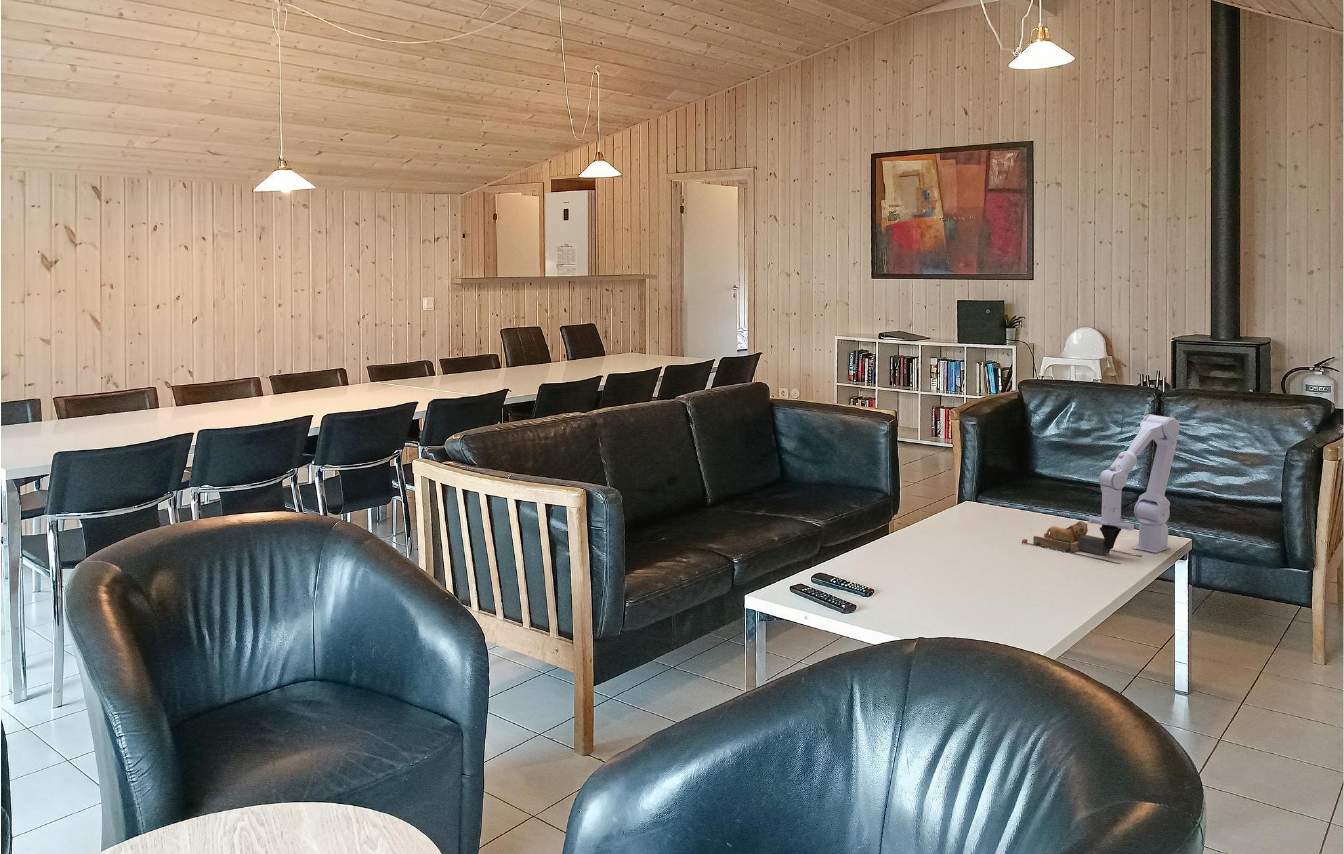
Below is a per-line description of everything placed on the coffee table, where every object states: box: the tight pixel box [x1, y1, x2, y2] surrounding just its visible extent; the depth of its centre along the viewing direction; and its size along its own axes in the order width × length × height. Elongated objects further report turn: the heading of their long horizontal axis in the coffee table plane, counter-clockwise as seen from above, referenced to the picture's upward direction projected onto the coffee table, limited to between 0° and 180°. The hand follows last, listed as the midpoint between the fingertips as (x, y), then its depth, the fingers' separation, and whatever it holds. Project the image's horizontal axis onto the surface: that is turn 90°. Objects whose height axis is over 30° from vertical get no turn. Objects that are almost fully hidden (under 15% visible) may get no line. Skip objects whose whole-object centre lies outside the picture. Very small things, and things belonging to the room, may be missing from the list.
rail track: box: [1021, 532, 1142, 565], centre depth 349 cm, size 14×35×1 cm, turn 37°
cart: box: [1032, 534, 1111, 556], centre depth 351 cm, size 13×23×4 cm, turn 37°
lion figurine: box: [1044, 521, 1089, 543], centre depth 352 cm, size 15×5×9 cm, turn 70°
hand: (1109, 548), depth 340 cm, fingers closed
